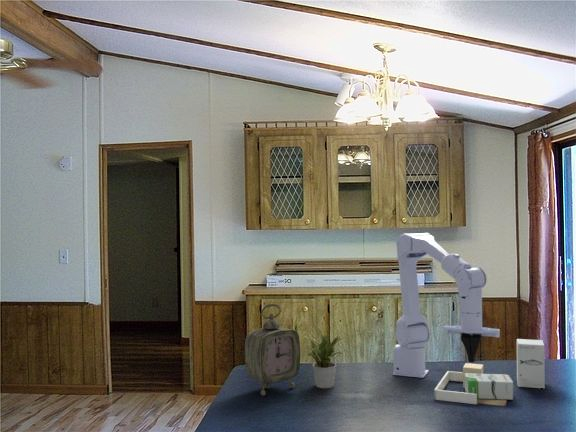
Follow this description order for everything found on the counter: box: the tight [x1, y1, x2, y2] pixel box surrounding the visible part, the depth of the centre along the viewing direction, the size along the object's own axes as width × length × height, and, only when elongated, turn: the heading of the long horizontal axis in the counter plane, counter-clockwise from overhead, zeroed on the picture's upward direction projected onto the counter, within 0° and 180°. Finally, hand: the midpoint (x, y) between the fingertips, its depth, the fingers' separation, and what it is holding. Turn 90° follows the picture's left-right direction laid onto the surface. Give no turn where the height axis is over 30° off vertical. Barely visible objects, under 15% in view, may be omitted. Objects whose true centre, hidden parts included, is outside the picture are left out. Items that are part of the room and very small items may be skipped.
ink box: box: [464, 373, 514, 401], centre depth 167 cm, size 9×5×12 cm
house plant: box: [304, 330, 348, 389], centre depth 178 cm, size 14×14×16 cm
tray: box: [433, 370, 478, 405], centre depth 172 cm, size 11×20×3 cm, turn 155°
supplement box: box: [516, 338, 546, 390], centre depth 177 cm, size 7×7×13 cm
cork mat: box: [477, 399, 508, 407], centre depth 165 cm, size 10×11×1 cm
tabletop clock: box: [244, 303, 301, 397], centre depth 176 cm, size 14×9×25 cm, turn 130°
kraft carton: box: [462, 362, 484, 389], centre depth 176 cm, size 5×5×6 cm
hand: (471, 361), depth 167 cm, fingers closed
